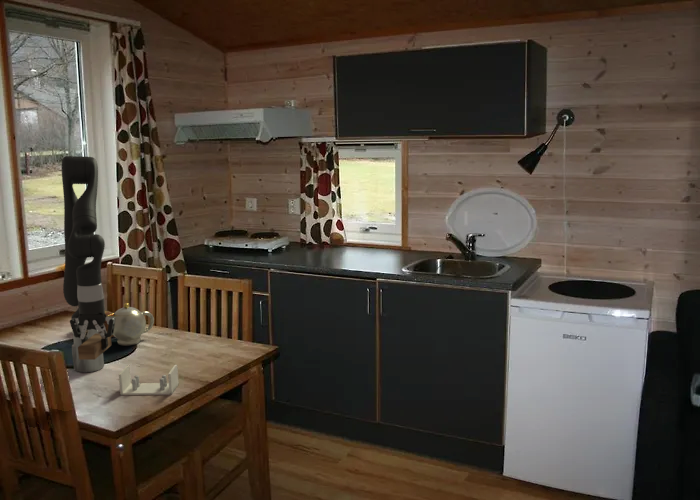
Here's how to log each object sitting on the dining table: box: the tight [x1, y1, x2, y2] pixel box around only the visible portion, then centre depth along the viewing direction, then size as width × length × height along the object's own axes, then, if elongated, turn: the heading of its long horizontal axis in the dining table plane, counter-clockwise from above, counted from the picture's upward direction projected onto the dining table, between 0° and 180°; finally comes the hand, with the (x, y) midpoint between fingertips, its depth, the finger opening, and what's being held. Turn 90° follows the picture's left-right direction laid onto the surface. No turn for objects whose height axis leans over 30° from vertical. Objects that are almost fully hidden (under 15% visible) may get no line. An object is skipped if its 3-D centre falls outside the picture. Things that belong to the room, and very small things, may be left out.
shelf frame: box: [118, 364, 180, 396], centre depth 208 cm, size 17×8×7 cm, turn 90°
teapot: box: [108, 302, 155, 347], centre depth 254 cm, size 18×14×16 cm
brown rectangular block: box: [78, 333, 112, 360], centre depth 203 cm, size 13×5×4 cm, turn 178°
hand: (95, 349), depth 203 cm, fingers closed on brown rectangular block, 5 cm apart
